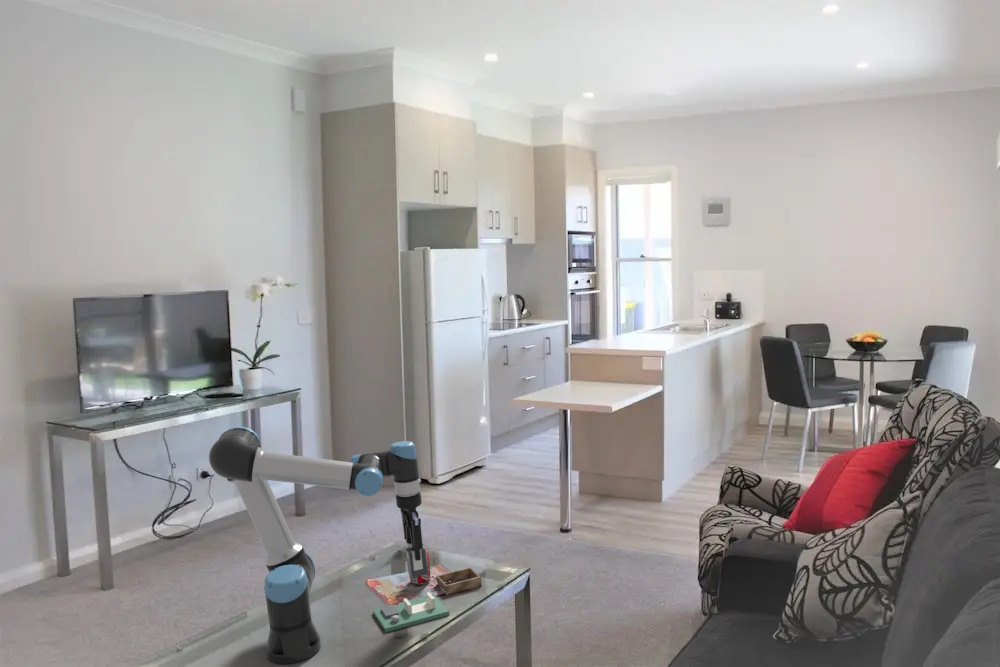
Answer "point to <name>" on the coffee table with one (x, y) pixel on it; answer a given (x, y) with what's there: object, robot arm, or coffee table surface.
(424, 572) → the plug
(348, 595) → the coffee table surface
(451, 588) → the wooden frame
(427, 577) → the soda can
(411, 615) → the board
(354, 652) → the coffee table surface
